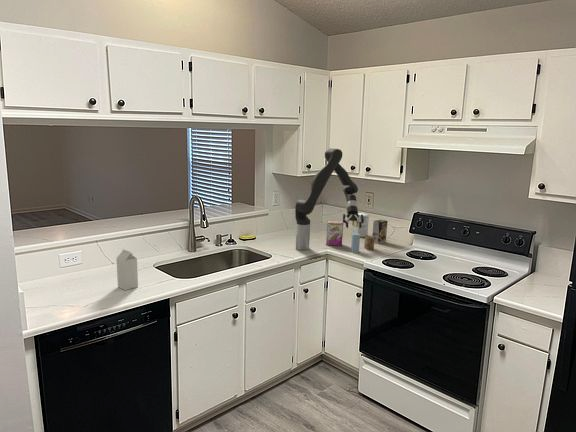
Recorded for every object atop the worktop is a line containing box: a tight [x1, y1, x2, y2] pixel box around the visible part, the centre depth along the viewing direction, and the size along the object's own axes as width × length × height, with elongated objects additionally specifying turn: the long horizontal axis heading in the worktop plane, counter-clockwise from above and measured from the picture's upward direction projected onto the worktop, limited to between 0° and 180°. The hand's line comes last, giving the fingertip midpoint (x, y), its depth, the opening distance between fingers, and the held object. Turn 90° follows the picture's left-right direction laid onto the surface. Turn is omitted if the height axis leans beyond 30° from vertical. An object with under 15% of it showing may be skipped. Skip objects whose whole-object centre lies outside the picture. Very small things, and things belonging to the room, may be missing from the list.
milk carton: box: [116, 248, 139, 291], centre depth 221 cm, size 7×7×19 cm
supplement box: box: [350, 212, 370, 238], centre depth 343 cm, size 10×9×17 cm
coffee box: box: [371, 219, 388, 245], centre depth 324 cm, size 9×6×16 cm
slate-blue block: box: [350, 233, 361, 254], centre depth 297 cm, size 4×4×12 cm
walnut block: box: [364, 236, 375, 251], centre depth 306 cm, size 5×5×8 cm
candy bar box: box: [325, 220, 344, 247], centre depth 313 cm, size 11×5×16 cm, turn 84°
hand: (353, 227), depth 305 cm, fingers open, 8 cm apart
